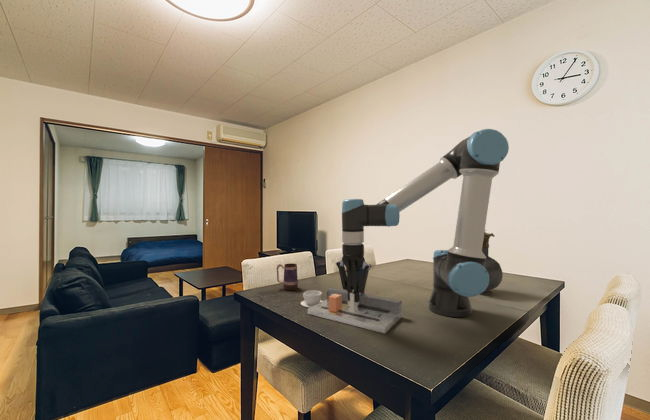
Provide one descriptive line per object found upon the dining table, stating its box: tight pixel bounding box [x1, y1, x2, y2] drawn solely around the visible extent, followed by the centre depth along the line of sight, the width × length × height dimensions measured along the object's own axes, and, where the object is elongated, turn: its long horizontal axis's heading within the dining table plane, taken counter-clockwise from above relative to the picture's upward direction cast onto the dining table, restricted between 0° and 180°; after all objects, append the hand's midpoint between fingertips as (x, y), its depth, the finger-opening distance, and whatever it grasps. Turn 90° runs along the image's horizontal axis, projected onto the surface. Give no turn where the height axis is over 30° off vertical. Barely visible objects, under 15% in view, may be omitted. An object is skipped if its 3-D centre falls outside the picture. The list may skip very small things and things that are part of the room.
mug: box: [276, 263, 299, 291], centre depth 140 cm, size 10×7×12 cm
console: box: [307, 287, 403, 334], centre depth 105 cm, size 30×16×6 cm, turn 57°
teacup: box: [300, 289, 323, 308], centre depth 118 cm, size 10×10×5 cm
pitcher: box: [480, 229, 503, 296], centre depth 134 cm, size 11×19×30 cm, turn 18°
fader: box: [329, 294, 342, 312], centre depth 105 cm, size 3×4×5 cm
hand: (353, 310), depth 101 cm, fingers closed
